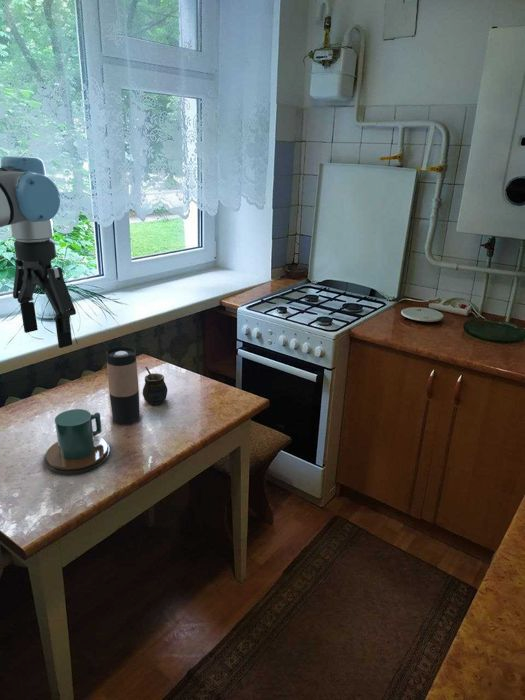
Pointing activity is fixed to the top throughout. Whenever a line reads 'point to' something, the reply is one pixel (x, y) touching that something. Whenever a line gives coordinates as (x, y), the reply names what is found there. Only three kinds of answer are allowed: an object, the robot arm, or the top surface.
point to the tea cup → (76, 441)
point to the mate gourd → (154, 388)
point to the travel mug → (123, 385)
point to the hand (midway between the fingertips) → (47, 338)
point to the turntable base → (78, 471)
